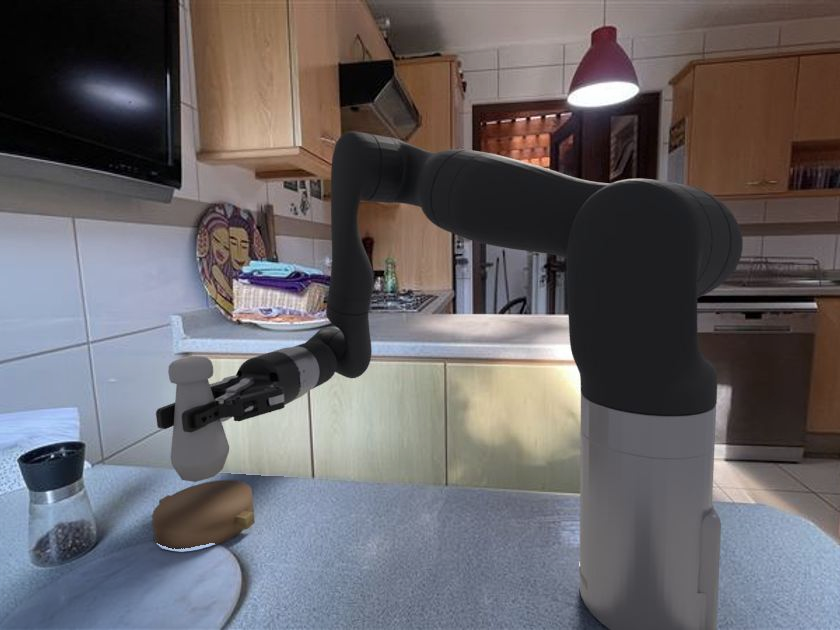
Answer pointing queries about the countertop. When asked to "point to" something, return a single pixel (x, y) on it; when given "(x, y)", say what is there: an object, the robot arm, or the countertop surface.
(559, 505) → the countertop surface
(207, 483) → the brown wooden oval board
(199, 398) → the salt shaker
